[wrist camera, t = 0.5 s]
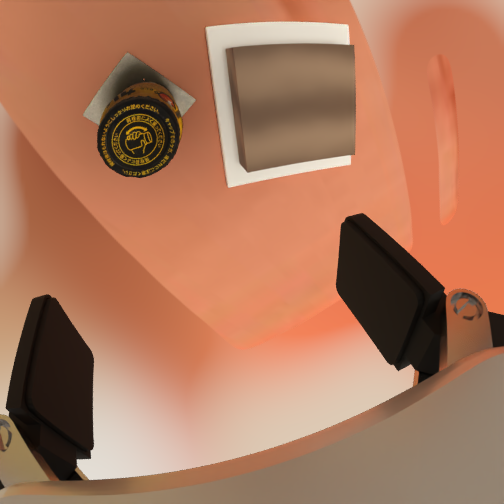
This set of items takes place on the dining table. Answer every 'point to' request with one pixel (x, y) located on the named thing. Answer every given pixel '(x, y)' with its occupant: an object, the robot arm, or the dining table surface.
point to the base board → (216, 45)
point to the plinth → (292, 102)
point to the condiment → (138, 118)
